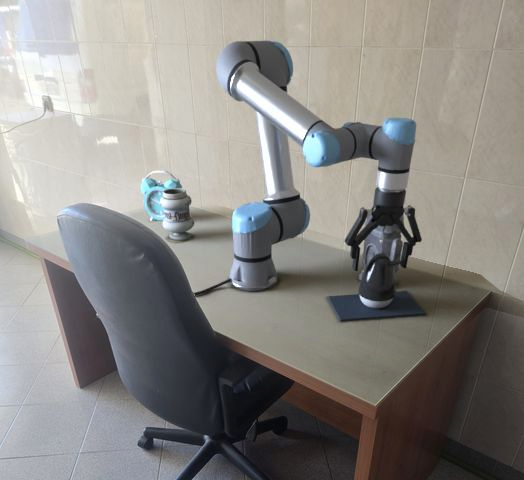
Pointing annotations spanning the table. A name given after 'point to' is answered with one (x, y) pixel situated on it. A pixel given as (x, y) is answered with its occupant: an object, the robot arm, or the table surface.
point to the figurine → (383, 244)
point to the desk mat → (357, 310)
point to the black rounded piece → (378, 281)
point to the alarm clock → (156, 194)
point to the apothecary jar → (177, 214)
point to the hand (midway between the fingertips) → (379, 268)
